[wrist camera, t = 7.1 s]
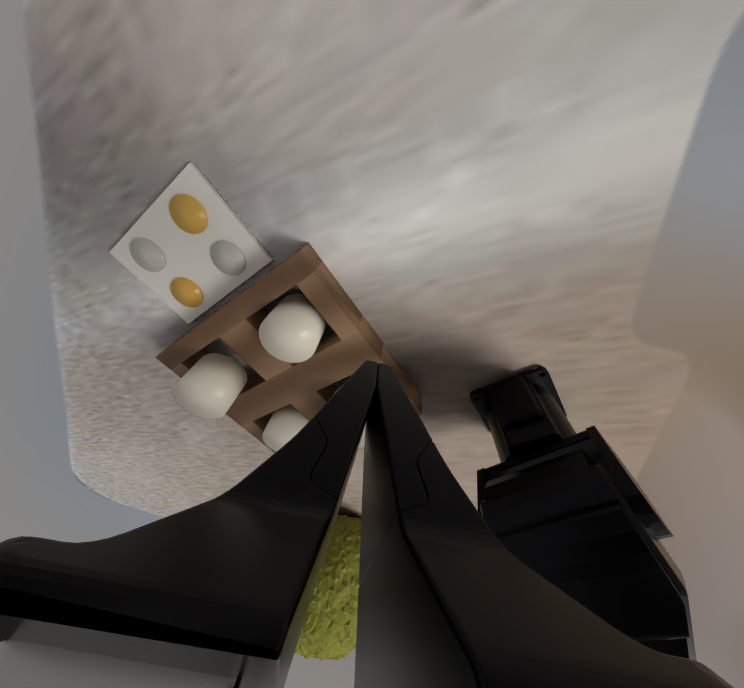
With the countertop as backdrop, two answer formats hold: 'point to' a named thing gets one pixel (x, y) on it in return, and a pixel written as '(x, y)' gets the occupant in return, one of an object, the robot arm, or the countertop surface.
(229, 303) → the board
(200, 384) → the button
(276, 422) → the button
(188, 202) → the card
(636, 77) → the countertop surface
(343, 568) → the fruit
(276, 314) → the white egg
